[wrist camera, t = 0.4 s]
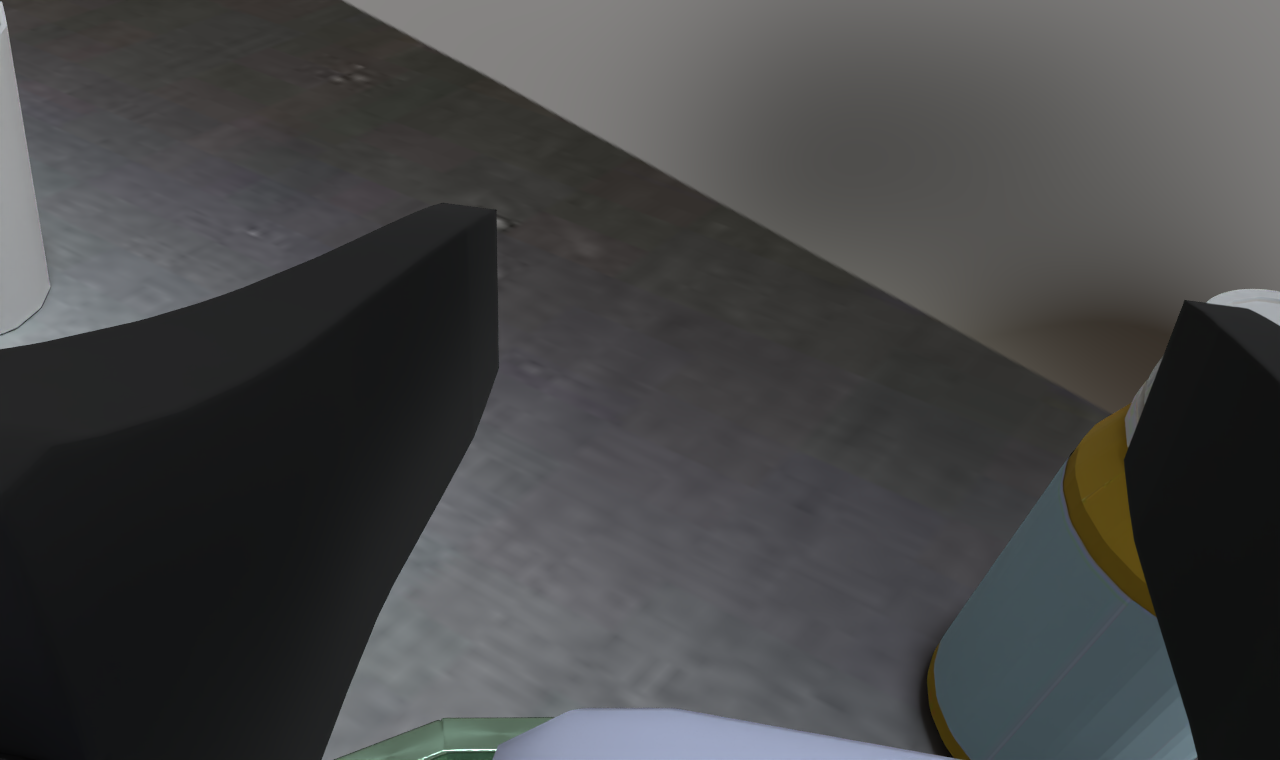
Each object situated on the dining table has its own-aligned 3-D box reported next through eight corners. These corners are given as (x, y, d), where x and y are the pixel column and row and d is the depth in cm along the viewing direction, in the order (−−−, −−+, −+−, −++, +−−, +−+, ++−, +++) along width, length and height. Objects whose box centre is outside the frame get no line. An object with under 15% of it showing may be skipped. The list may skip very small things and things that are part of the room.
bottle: (876, 718, 33) (1124, 358, 23) (985, 589, 37) (1235, 239, 27) (1082, 892, 30) (1468, 576, 20) (1174, 733, 35) (1531, 405, 24)
